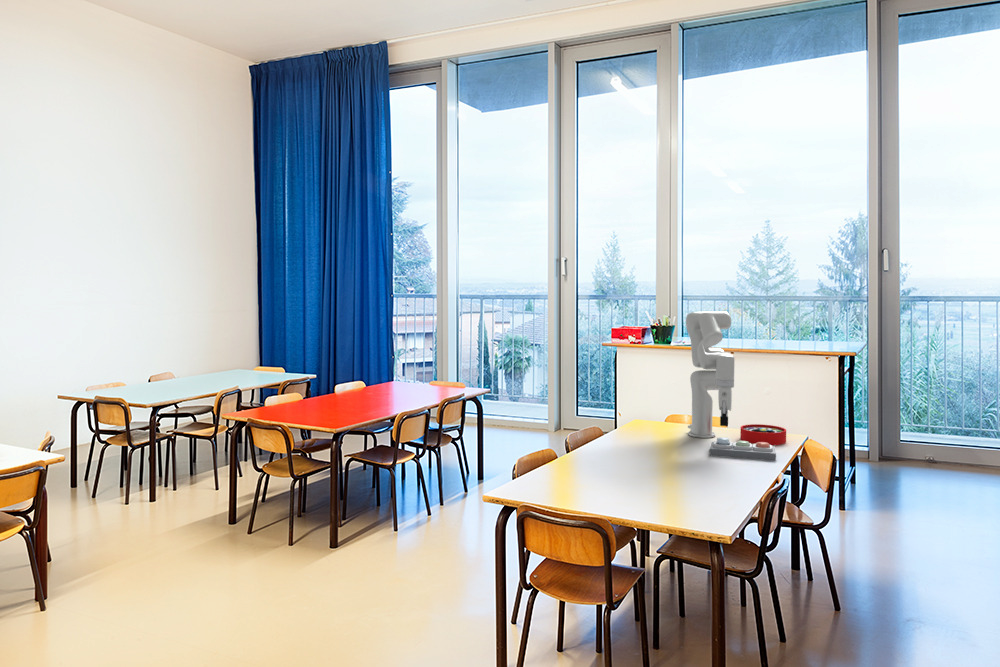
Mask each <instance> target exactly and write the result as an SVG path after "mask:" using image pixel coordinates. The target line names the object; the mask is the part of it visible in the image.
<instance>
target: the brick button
mask: <svg viewBox="0 0 1000 667" xmlns="http://www.w3.org/2000/svg"><path fill="white" fill-rule="evenodd" d="M756 447H762V448H769V443H766V442H757V443H756Z"/></svg>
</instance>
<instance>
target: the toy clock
mask: <svg viewBox="0 0 1000 667" xmlns="http://www.w3.org/2000/svg"><path fill="white" fill-rule="evenodd" d="M739 436H740V437H739V438H740V439H741V440H740V441H747V442H749V443H753V444H756V443H757V442H766V443H769V445H772V446H780V445H784V444H786V443H787V429H786V428H784V427H782V426H779V425H773V424H772V425H771V424H761V423H760V424H757V423H756V424H744V425H741V426H740V434H739ZM753 444H752V445H753Z"/></svg>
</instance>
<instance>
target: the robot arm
mask: <svg viewBox="0 0 1000 667" xmlns="http://www.w3.org/2000/svg"><path fill="white" fill-rule="evenodd" d="M731 317H732V316H731V315H730V314H729V312H727V311H726V310H725V311H722V310H721V311H716V310H714V311H712V310H711V311H710V310H709V311H702V310H701V311H692V312H689V313H688V314H687V315H686V318H685V326H686V331H687V333H688V335H689V336H688V337H689V339H690V347H691V359H692V360H691V361H692V364H693V367H696V368H698V369H700V368H701V369H703V370H695V371H693V372H692V373H691V374H690V377H689V378H690V379H689V380H690V381H689V382H690V388H691V424H689V425H687V429H690V430H689V431H688V435H689V436H690V437H693V438H701V439H710V438H714V437H716V433H715V432H713V397H712V396H711V395H710V394H709V392H708V391H718V409H719V411H720V416H719V418H720V419H719V426H721V427H729V416H728V414H729V412H731V411H732V401H733V400H732V399H733V397H732V396H733V394H732V393H733V392H732V391H733V390H732V389H734V388H735V357H734V356H733V355H732V354H731V353H729V352H725V350H724V349H723V348H719V347H718V348H716V347H714V346H716V345H718V344H720V343H721V341H723V338H724V337H723V336H724V335H723V332H722V330H728V329H730V328H731V326H732V318H731ZM712 347H713V348H712Z"/></svg>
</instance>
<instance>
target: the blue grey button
mask: <svg viewBox="0 0 1000 667" xmlns="http://www.w3.org/2000/svg"><path fill="white" fill-rule="evenodd" d="M716 441H717V443H718V444H722V445H727V444H729V442H730V438H728V437H717V438H716Z"/></svg>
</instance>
